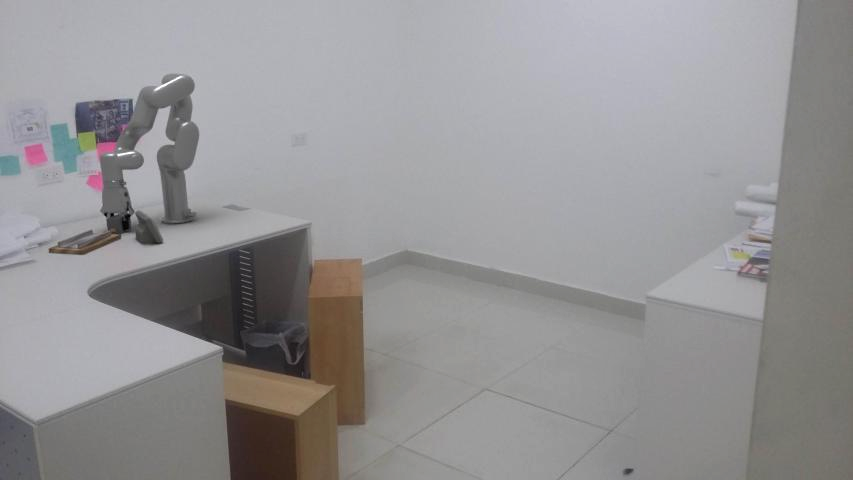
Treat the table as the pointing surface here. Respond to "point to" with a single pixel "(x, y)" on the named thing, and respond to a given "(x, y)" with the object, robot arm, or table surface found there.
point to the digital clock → (147, 229)
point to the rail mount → (84, 242)
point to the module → (116, 224)
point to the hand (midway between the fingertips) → (119, 229)
